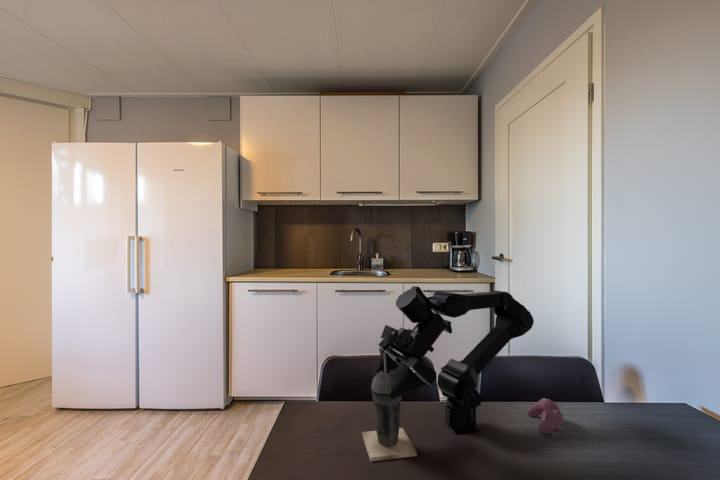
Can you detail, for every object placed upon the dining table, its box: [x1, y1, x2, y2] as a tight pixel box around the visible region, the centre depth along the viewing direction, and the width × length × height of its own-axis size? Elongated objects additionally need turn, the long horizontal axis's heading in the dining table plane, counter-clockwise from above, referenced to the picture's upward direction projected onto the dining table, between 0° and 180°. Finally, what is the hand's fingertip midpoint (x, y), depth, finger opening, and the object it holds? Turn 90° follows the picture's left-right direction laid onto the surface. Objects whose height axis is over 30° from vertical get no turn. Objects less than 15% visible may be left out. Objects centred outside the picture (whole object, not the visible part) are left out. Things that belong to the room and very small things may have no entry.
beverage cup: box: [370, 352, 403, 447], centre depth 76 cm, size 7×7×20 cm
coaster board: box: [361, 427, 418, 462], centre depth 75 cm, size 10×10×1 cm
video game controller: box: [526, 397, 564, 435], centre depth 83 cm, size 10×5×7 cm, turn 169°
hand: (381, 389), depth 75 cm, fingers open, 9 cm apart
